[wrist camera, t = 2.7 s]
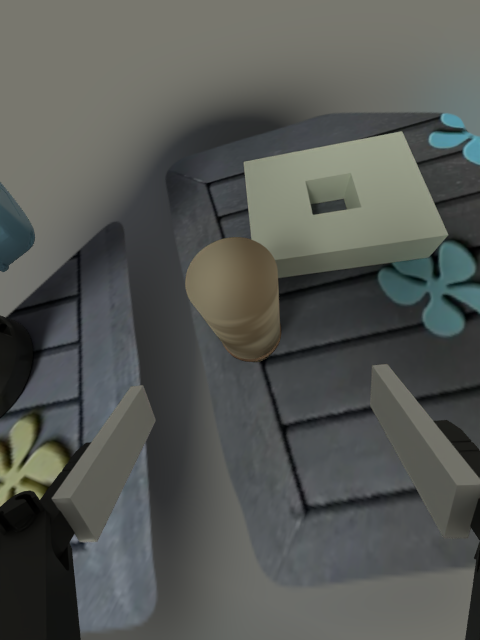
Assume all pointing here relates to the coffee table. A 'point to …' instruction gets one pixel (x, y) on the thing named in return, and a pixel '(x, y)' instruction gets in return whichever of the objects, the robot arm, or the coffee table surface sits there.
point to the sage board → (360, 199)
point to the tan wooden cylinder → (238, 296)
